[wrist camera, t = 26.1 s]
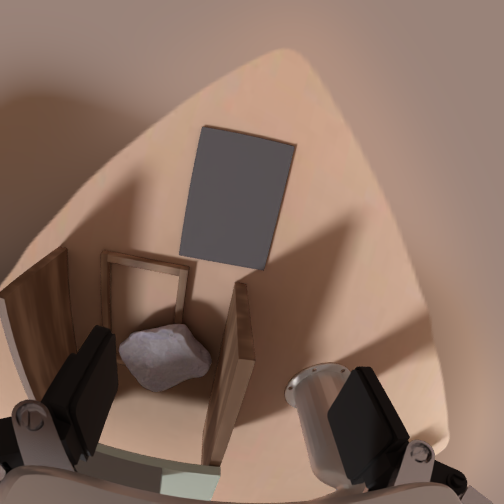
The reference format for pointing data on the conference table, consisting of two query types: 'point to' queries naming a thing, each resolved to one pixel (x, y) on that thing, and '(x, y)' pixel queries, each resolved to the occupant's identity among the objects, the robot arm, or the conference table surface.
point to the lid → (151, 473)
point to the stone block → (164, 356)
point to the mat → (234, 198)
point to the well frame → (62, 334)
